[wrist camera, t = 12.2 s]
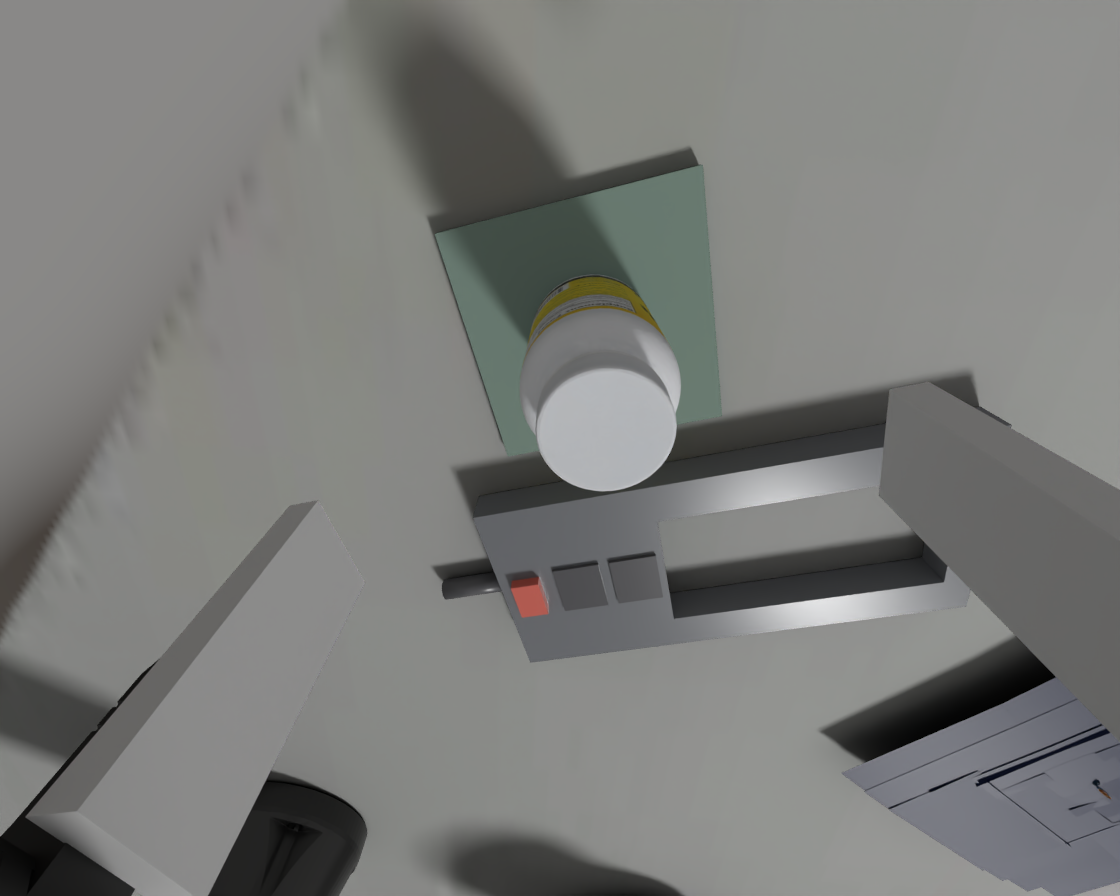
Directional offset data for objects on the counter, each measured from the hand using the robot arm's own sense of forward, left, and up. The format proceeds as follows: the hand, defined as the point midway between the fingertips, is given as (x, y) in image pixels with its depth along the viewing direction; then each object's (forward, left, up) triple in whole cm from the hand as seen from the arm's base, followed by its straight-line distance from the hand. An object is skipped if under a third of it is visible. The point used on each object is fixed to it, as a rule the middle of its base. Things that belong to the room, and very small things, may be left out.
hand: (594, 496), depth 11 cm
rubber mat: (0, 0, -13) cm, 13 cm away
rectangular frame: (+5, -14, -13) cm, 20 cm away
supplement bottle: (0, 0, -13) cm, 13 cm away
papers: (+31, -41, -13) cm, 53 cm away
